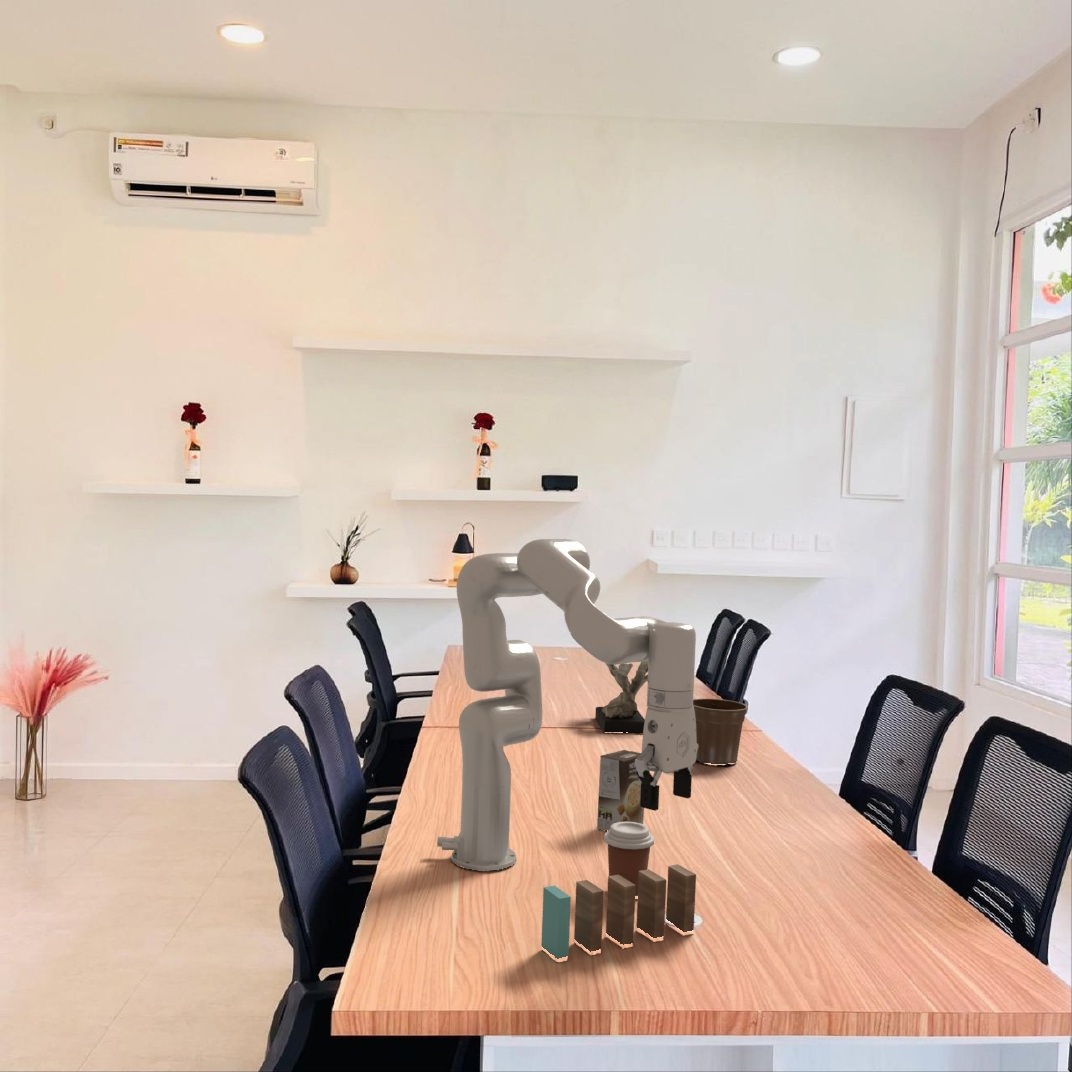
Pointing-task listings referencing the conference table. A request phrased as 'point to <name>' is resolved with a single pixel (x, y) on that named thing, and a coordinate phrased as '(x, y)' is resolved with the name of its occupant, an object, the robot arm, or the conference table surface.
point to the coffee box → (619, 790)
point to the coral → (624, 701)
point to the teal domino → (556, 921)
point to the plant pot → (718, 729)
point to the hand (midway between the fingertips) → (665, 802)
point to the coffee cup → (628, 850)
